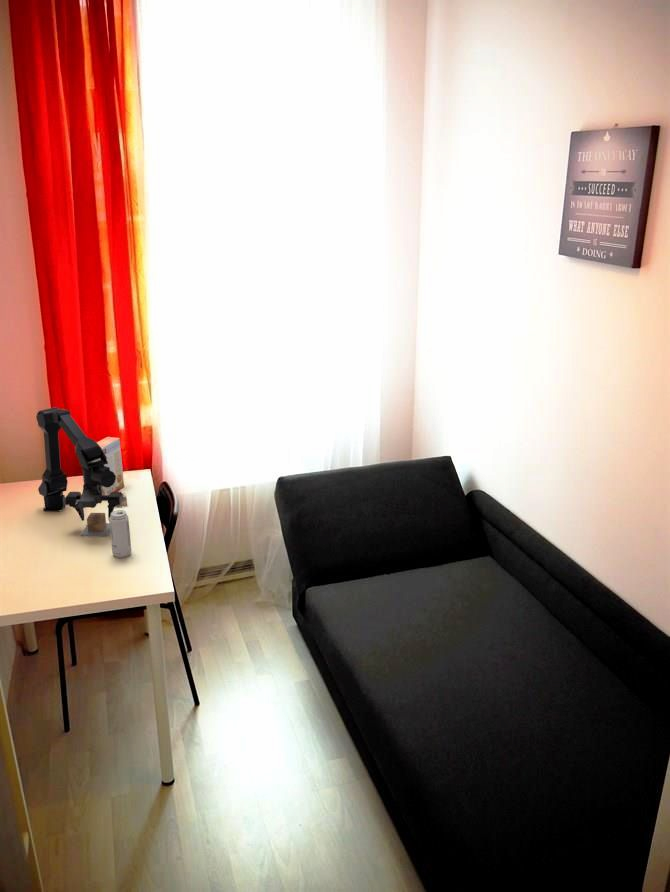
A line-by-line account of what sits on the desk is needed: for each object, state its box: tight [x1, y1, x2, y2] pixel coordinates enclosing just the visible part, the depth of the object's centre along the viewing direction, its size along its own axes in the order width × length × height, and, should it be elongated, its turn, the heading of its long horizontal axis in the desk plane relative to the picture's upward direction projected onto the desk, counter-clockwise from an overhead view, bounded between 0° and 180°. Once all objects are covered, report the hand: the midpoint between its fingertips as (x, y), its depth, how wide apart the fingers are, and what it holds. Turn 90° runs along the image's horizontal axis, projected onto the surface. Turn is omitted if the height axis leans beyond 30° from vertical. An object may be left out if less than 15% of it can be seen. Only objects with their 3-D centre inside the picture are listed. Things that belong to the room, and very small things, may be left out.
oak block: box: [115, 492, 128, 508], centre depth 283 cm, size 4×4×4 cm
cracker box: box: [93, 436, 125, 495], centre depth 292 cm, size 14×6×21 cm, turn 162°
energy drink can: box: [108, 509, 132, 559], centre depth 244 cm, size 6×6×15 cm
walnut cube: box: [86, 512, 107, 532], centre depth 262 cm, size 5×5×5 cm
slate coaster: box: [80, 522, 110, 537], centre depth 263 cm, size 9×9×1 cm
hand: (96, 520), depth 262 cm, fingers open, 9 cm apart
